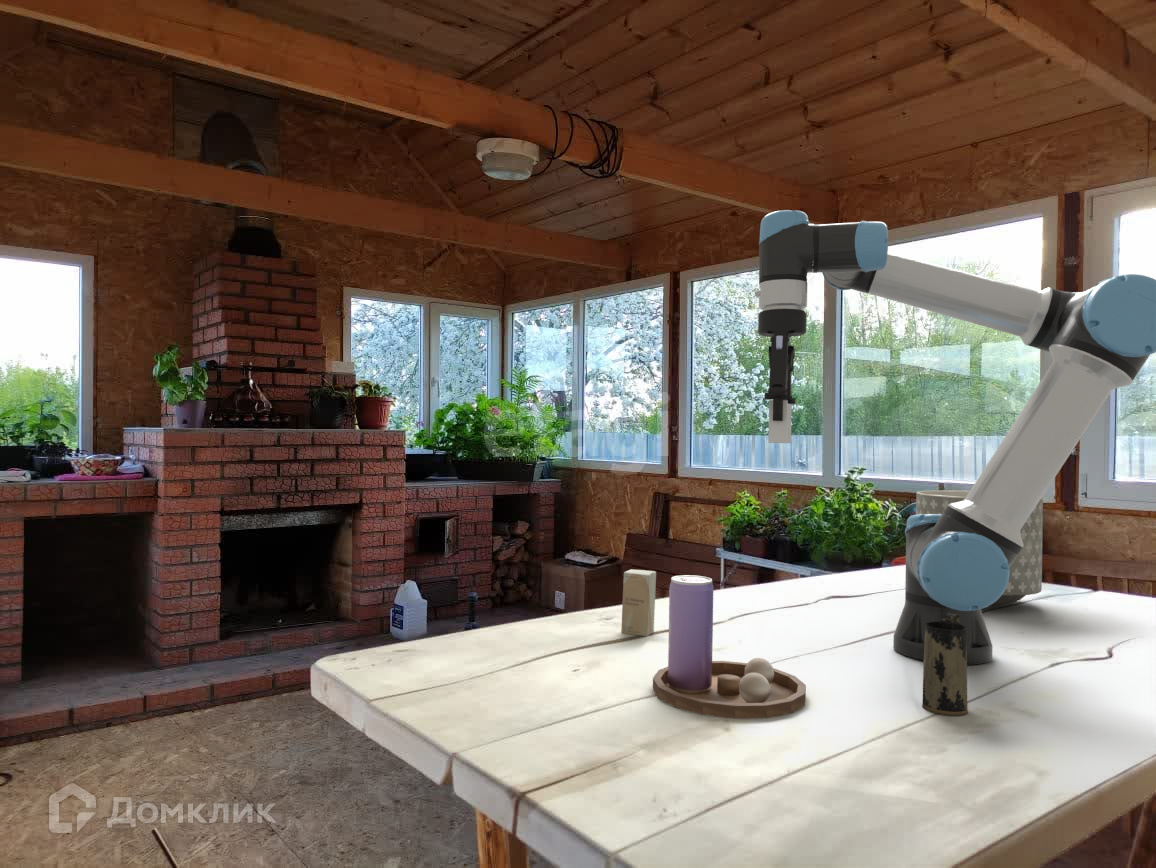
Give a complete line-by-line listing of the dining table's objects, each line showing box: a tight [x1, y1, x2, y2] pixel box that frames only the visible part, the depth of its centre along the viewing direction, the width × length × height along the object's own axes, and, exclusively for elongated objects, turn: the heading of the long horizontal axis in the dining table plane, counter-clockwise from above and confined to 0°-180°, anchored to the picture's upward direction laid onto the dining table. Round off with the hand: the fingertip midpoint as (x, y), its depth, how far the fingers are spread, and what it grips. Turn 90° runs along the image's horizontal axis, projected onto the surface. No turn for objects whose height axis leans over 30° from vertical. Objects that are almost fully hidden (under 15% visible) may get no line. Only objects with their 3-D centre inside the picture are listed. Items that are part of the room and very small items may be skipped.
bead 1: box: [745, 657, 775, 684], centre depth 113 cm, size 4×4×4 cm
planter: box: [915, 489, 1044, 608], centre depth 181 cm, size 25×25×24 cm
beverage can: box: [667, 574, 714, 694], centre depth 113 cm, size 6×6×15 cm
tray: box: [652, 660, 807, 719], centre depth 111 cm, size 20×20×3 cm
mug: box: [921, 613, 969, 717], centre depth 109 cm, size 8×6×12 cm
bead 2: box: [739, 673, 770, 703], centre depth 106 cm, size 4×4×4 cm
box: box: [620, 568, 657, 637], centre depth 148 cm, size 5×4×11 cm
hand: (780, 443), depth 132 cm, fingers open, 13 cm apart
